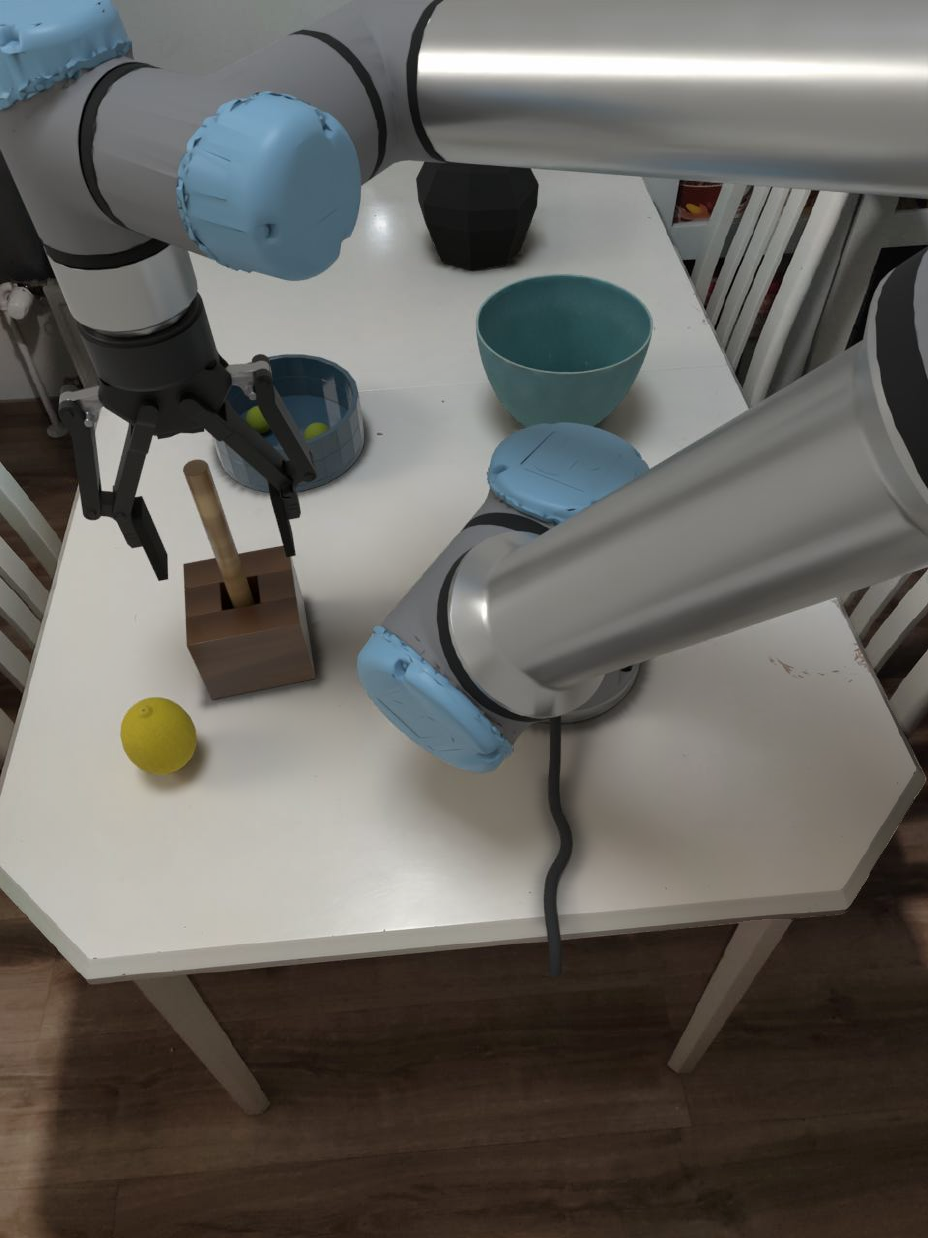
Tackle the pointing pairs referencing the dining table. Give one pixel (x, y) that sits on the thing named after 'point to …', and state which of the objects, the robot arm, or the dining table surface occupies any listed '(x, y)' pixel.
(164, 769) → the lemon
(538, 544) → the robot arm
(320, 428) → the ball
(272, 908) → the dining table surface
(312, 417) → the bowl
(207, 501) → the stick
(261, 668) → the stick holder
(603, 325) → the deep teal bowl
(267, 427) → the ball
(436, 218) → the bottle
